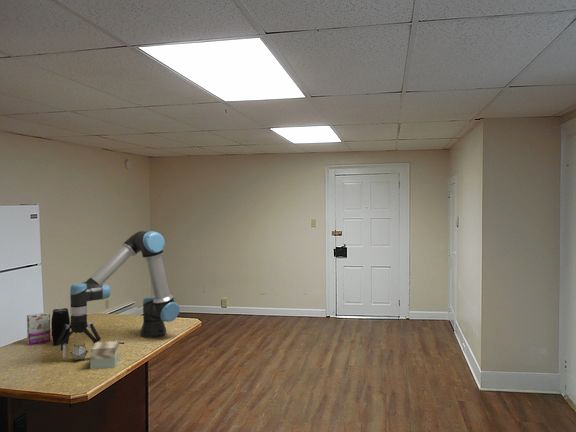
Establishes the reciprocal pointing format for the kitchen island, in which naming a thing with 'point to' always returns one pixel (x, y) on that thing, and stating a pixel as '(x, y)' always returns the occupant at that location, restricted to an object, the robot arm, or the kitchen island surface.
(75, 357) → the game die
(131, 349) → the kitchen island surface
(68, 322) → the portable speaker
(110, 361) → the lower block
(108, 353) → the upper block
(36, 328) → the candy bar box
